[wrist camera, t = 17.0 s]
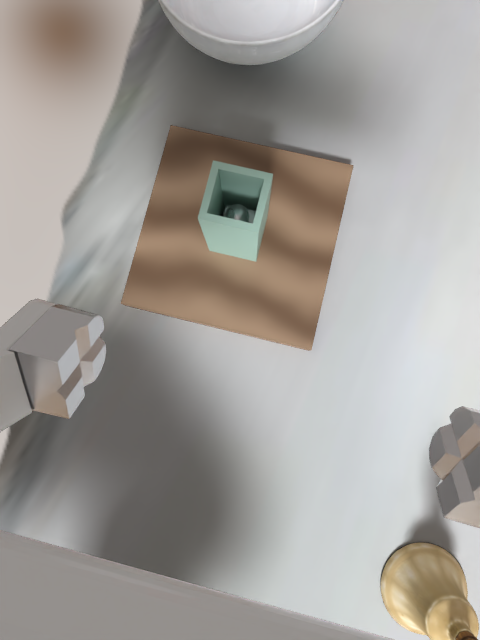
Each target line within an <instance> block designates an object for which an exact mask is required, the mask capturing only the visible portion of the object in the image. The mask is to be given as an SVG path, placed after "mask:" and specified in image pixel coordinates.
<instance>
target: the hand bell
mask: <svg viewBox="0 0 480 640" xmlns="http://www.w3.org/2000/svg"><path fill="white" fill-rule="evenodd" d="M381 594H382V598H383V602H384V604H385V607H386V609H387V611H388V612H389V614H390V615H391V616H392V618H393V619H394V620H395V621H396V622H397V623H398V624H400V625H401V626H402V627H404V628H405V629H407V630H409V631H411V632H414V633H417V634H422V635H427V636H428V637H429V638H430V639H431V640H478V639H477V635H478V630H479V623H478V618H477V615H476V613H475V611H474V609H473V607H472V606H471V605H470V603H469V602H468V600H467V594H468V591H467V583H466V579H465V576H464V573H463V571H462V568H461V567H460V565H459V563H458V562H457V561H456V559H455V558H454V557H453V556H452V555H451V554H450V553H449V552H447V551H446V550H444V549H443V548H441V547H439V546H436V545H434V544H430V543H412V544H409V545H406V546H404V547H402V548H401V549H399V550H397V551H396V552H395V553H394V554H393V555H392V556H391V557H390V559H389V560H388V561H387V563H386V565H385V567H384V570H383V573H382V577H381Z"/></svg>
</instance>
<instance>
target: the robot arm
mask: <svg viewBox="0 0 480 640" xmlns="http://www.w3.org/2000/svg"><path fill="white" fill-rule="evenodd" d="M103 330H104V322H103V318H102V317H101V316H99V315H96V314H93V313H89V312H85V311H82V310H78V309H75V308H71V307H67V306H64V305H60V304H54V303H51V302H47V301H44V300H40V299H35V300H31V301H29V302H28V303H27V304H26V305H25V306H24V307H23V308H22V309H20V310H19V311H18V312H17V313H16V314H15V315H14V316H13V317H11V318H10V319H9V320H8V321H7V322H6V323H5V324H4V325H3V326H2V327H1V328H0V432H1V431H3V430H4V429H6V428H8V427H9V426H11V425H13V424H14V423H16V422H17V421H19V420H21V419H22V418H24V417H26V416H27V415H29V414H31V413H32V410H33V411H37V412H41V413H46V414H50V415H54V416H59V417H63V418H67V419H70V417H71V416H72V414H73V413H74V411H75V410H76V408H77V407H78V406H79V404H80V403H81V401H82V400H83V398H84V397H85V393H84V386H86V385H88V384H90V383H92V382H94V381H95V380H96V378H97V377H98V375H99V374H100V372H101V369H102V367H103V364H104V361H105V356H106V343H105V342H104V341H103V339H102V338H101V337H100V334H101V333H102V332H103ZM450 421H451V424H449V425H446V426H444V427H441V428H439V429H438V430H437V432H436V433H435V434H434V436H433V437H432V440H431V444H430V447H429V458H430V463H431V467H432V469H433V471H434V472H435V473H436V474H437V475H438V477H439V478H440V479H441V480H440V482H439V484H438V485H437V487H436V489H437V493H438V497H439V501H440V505H441V509H442V513H443V517H444V518H447V519H450V520H454V521H457V522H460V523H464V524H467V525H471V526H474V527H478V528H480V410H476V409H472V408H468V407H464V406H462V407H459V408H457V409H455V410H454V412H453V413H452V414H451V415H450ZM0 640H394V639H390V638H387V637H383V636H379V635H376V634H372V633H369V632H365V631H361V630H358V629H354V628H351V627H347V626H344V625H340V624H336V623H333V622H329V621H326V620H322V619H318V618H315V617H311V616H308V615H304V614H300V613H297V612H293V611H290V610H286V609H282V608H279V607H275V606H272V605H268V604H264V603H261V602H257V601H254V600H250V599H246V598H243V597H239V596H236V595H232V594H228V593H225V592H221V591H218V590H214V589H210V588H207V587H203V586H200V585H196V584H192V583H189V582H185V581H182V580H178V579H174V578H171V577H167V576H164V575H160V574H157V573H153V572H149V571H146V570H142V569H139V568H135V567H131V566H128V565H124V564H121V563H117V562H113V561H110V560H106V559H103V558H99V557H95V556H92V555H88V554H85V553H81V552H77V551H74V550H70V549H67V548H63V547H59V546H56V545H52V544H49V543H45V542H41V541H38V540H34V539H31V538H27V537H23V536H20V535H16V534H13V533H9V532H5V531H2V530H0Z"/></svg>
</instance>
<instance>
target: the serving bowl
mask: <svg viewBox="0 0 480 640" xmlns="http://www.w3.org/2000/svg"><path fill="white" fill-rule="evenodd" d="M158 1H159V3H160V5H161V7H162V9H163V11H164V13H165V15H166V16H167V18H168V20H169V21H170V22H171V24H172V25H173V27H174V28H175V29H176V30H177V31H178V33H179V34H180V35H181V36H182V37H183V38H184V39H185V40H186V41H187V42H189V43H190V44H191V45H192V46H194V47H195V48H196V49H198V50H200V51H201V52H203V53H205V54H206V55H208V56H210V57H213V58H215V59H217V60H220V61H223V62H228V63H232V64H239V65H259V64H266V63H270V62H275V61H278V60H281V59H284V58H286V57H288V56H290V55H292V54H294V53H296V52H298V51H300V50H301V49H303V48H304V47H306V46H307V45H308V44H310V43H311V42H312V41H313V40H314V39H315V38H316V37H318V36H319V35H320V34H321V33H322V31H323V30H324V29H325V28H326V27H327V26H328V24H329V23H330V22H331V20H332V19H333V17H334V16H335V14H336V13H337V11H338V9H339V8H340V6H341V4H342V2H343V0H158Z"/></svg>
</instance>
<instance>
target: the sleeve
mask: <svg viewBox="0 0 480 640" xmlns="http://www.w3.org/2000/svg"><path fill="white" fill-rule="evenodd" d="M272 179H273V174H272V173H267V172H263V171H258V170H254V169H249V168H245V167H240V166H236V165H231V164H227V163H223V162H218V161H214V160H213V163H212V167H211V170H210V174H209V178H208V182H207V185H206V189H205V193H204V196H203V200H202V204H201V208H200V211H199V215H198V221H199V223H200V226H201V229H202V232H203V234H204V237H205V240H206V243H207V245H208V248H209V251H213V252H217V253H221V254H226V255H230V256H234V257H238V258H242V259H247V260H251V261H255V262H256V261H257V257H258V253H259V249H260V245H261V241H262V237H263V233H264V229H265V225H266V220H267V216H268V209H269V202H270V194H271V187H272ZM226 204H227V205H234V204H240V205H243V206H244V207H246V208H247V209H249V210H253V211H256V214H255V218H254V222H253V224H252V223H248V222H244V221H239V220H235V219H231V218H226V217H223V216H224V212H225V208H226Z"/></svg>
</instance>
